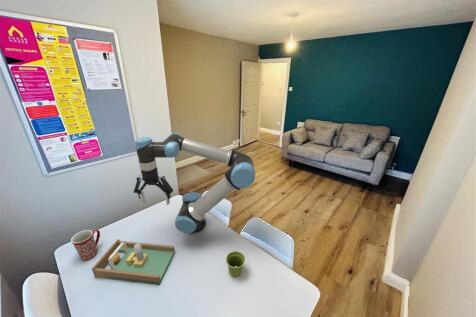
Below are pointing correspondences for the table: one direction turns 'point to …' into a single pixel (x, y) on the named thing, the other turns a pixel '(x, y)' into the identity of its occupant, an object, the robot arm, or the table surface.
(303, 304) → the table surface
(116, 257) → the ball
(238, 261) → the plant pot
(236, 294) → the table surface
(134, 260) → the kicker
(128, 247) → the pitch
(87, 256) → the mug
